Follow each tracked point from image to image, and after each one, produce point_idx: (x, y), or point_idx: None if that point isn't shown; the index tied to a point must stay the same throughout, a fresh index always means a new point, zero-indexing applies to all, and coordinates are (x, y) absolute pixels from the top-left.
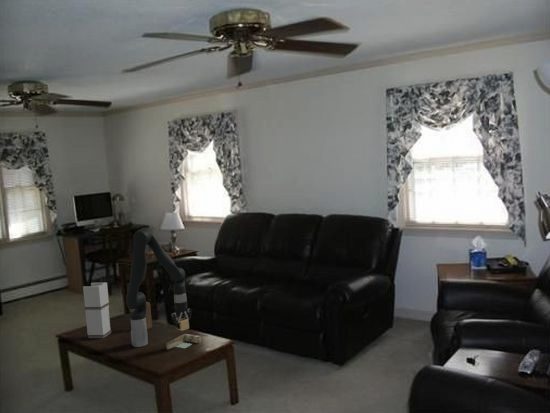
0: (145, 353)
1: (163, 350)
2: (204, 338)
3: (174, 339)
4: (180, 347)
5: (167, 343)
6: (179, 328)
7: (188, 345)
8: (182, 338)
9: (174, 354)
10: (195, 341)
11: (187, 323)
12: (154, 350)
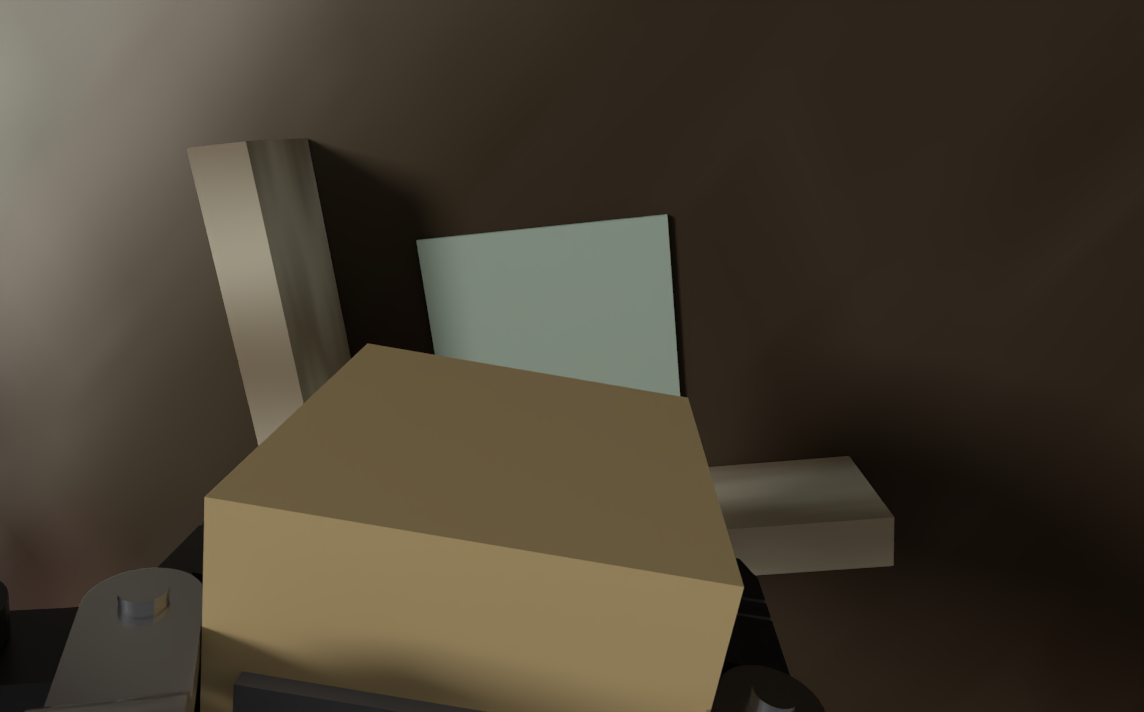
0: (1137, 680)
1: (912, 512)
2: (69, 254)
3: None
4: (673, 326)
5: (892, 528)
6: None
7: (522, 254)
8: None
9: (1007, 163)
10: (319, 251)
11: (362, 429)
12: (970, 647)
